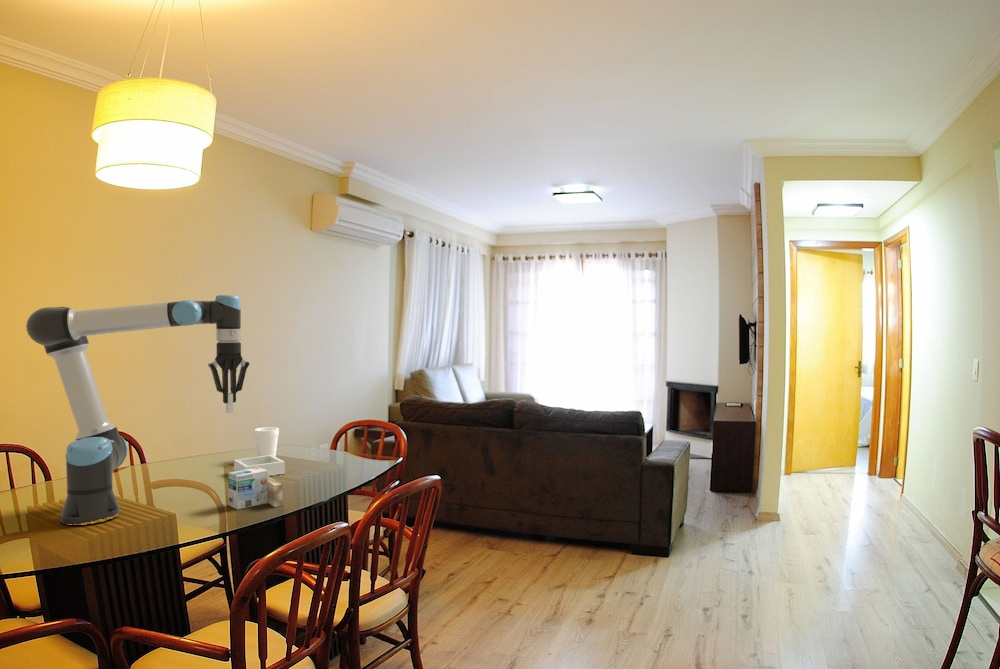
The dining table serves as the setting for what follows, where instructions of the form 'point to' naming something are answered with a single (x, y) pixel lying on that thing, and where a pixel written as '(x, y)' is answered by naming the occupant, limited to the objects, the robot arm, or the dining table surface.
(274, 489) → the board
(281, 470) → the frame
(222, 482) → the dining table surface
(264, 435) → the foam cup
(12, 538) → the dining table surface
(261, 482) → the light bulb box
